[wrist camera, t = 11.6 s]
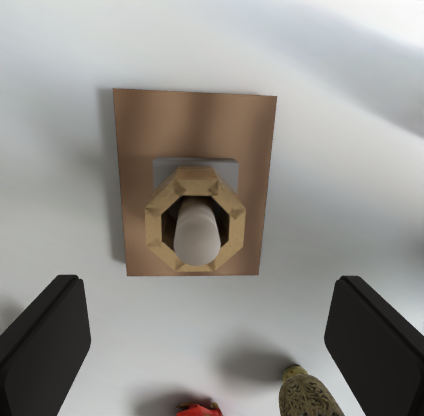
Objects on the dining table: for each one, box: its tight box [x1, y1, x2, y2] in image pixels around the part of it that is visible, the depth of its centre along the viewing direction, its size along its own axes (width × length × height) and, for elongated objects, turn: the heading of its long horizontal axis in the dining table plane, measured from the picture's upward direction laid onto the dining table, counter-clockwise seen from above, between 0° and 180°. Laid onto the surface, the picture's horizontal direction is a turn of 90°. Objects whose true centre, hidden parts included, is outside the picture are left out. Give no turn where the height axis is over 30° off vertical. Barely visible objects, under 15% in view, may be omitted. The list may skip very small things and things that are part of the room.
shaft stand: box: [113, 88, 277, 276], centre depth 20 cm, size 14×18×13 cm
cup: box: [279, 366, 345, 416], centre depth 32 cm, size 8×7×8 cm
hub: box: [144, 165, 246, 272], centre depth 19 cm, size 6×6×6 cm
